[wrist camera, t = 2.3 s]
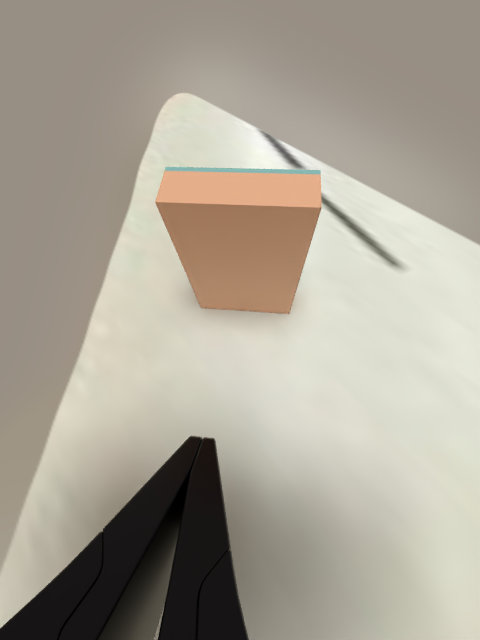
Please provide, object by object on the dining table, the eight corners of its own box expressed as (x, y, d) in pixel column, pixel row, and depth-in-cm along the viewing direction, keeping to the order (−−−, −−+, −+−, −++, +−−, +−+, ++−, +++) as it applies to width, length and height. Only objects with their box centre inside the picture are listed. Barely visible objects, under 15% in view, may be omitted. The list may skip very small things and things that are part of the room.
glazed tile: (289, 313, 23) (321, 207, 12) (201, 307, 24) (155, 202, 13) (289, 289, 24) (320, 170, 13) (205, 284, 25) (165, 166, 14)
